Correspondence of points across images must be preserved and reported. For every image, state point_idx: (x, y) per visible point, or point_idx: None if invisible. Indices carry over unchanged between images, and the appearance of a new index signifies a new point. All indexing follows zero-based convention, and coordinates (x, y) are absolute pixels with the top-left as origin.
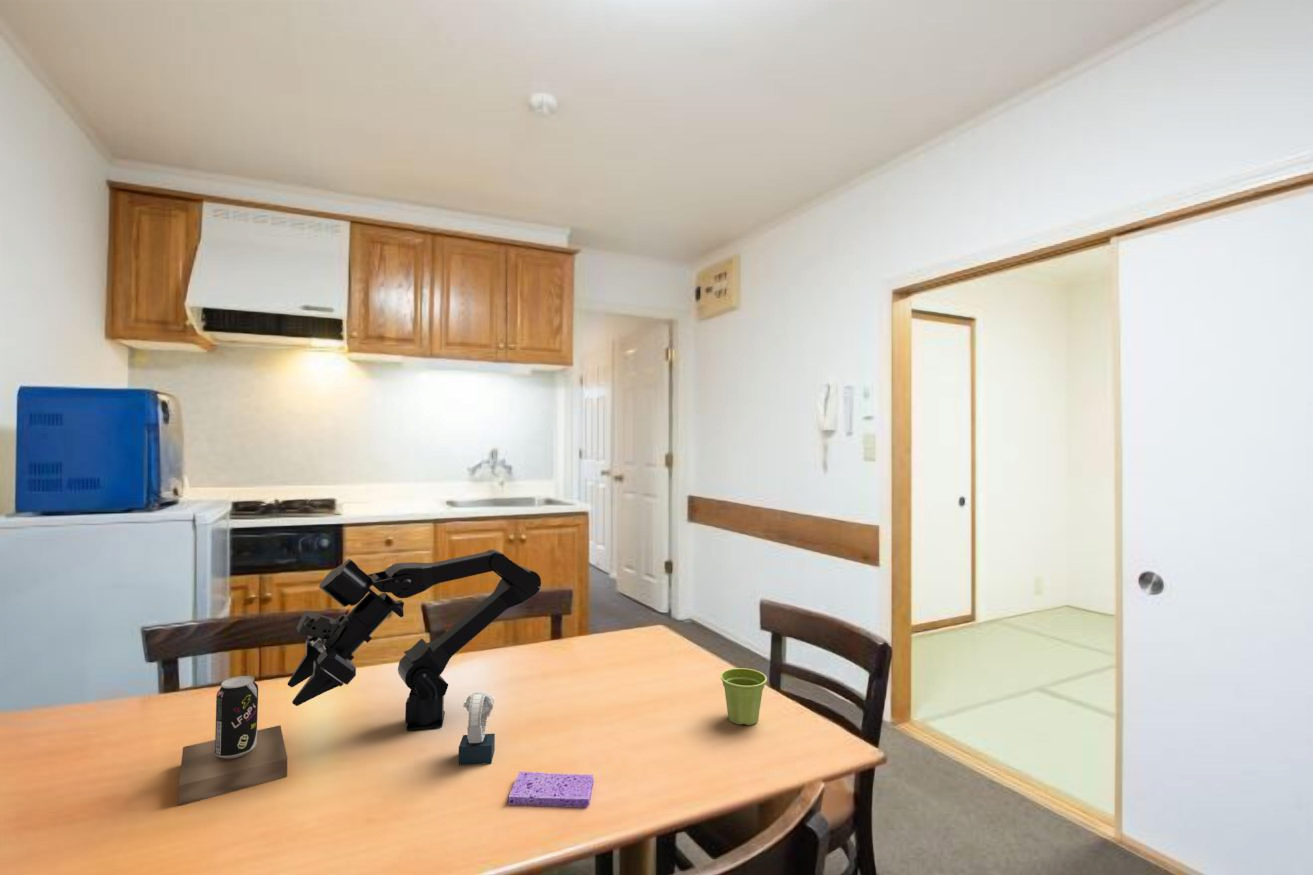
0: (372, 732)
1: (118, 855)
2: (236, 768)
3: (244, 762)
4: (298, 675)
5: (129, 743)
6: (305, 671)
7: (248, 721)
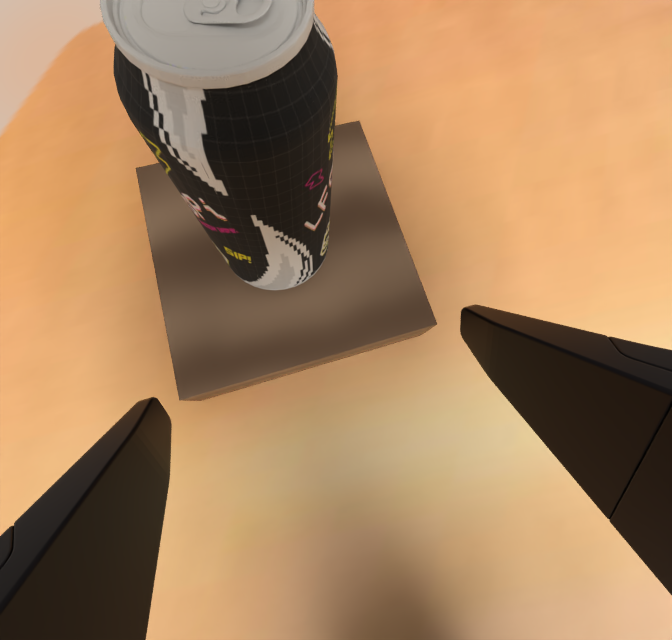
0: (416, 626)
1: (11, 158)
2: (172, 272)
3: (203, 284)
4: (509, 356)
5: (486, 39)
6: (547, 399)
7: (207, 229)
